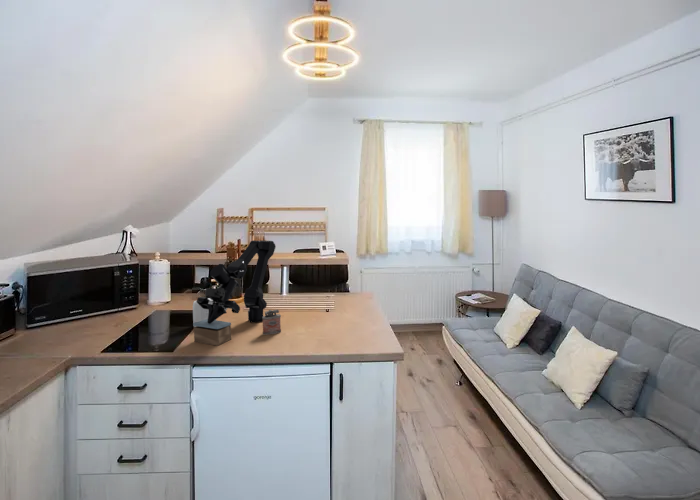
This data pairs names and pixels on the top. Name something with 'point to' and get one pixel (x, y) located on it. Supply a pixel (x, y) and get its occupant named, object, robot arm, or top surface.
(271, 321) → the lighter
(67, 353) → the top surface
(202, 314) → the photo printer
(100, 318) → the top surface
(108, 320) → the top surface
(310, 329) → the top surface
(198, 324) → the lid
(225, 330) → the walnut box
